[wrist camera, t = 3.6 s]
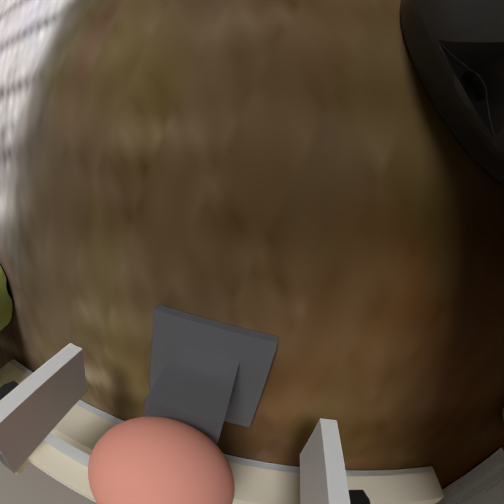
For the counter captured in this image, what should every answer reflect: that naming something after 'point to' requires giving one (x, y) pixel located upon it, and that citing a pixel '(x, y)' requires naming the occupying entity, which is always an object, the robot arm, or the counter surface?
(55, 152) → the counter surface
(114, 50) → the counter surface
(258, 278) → the counter surface
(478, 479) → the supplement box
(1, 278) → the plant pot
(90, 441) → the tray
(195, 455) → the ball
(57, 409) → the robot arm
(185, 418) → the tee
